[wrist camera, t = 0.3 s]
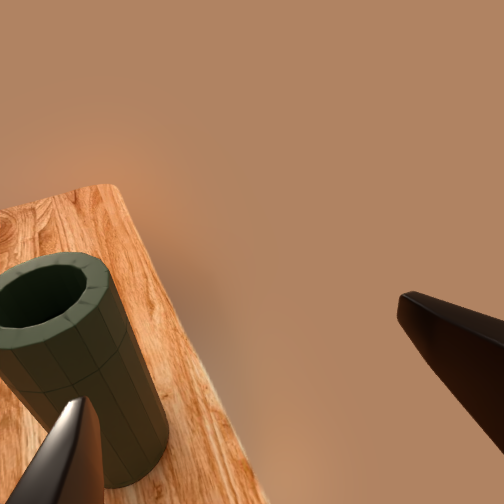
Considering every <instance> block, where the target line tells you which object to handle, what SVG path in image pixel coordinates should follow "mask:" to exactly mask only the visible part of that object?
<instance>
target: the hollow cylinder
mask: <svg viewBox="0 0 504 504" xmlns="http://www.w3.org/2000/svg"><path fill="white" fill-rule="evenodd" d="M0 377H1V379H2V380H3V381H4V382H5V383H6V385H7V386H8V387H9V388H10V389H11V391H12V392H13V393H14V394H15V395H16V396H17V398H18V399H19V400H20V401H21V402H22V403H23V405H24V406H25V407H26V408H27V409H28V410H29V412H30V413H31V414H32V415H33V416H34V417H35V419H36V420H37V421H38V422H39V423H40V424H41V426H42V427H43V428H44V429H45V430H46V431H47V433H49V431H50V430H51V428H52V426H53V425H54V423H55V421H56V420H57V418H58V417H59V415H60V413H61V412H62V410H63V408H64V407H65V405H66V404H67V402H68V401H70V400H72V399H75V398H78V397H81V396H87V397H88V398H89V400H90V402H91V404H92V406H93V408H94V410H95V412H96V414H97V416H98V419H99V424H100V436H101V449H102V462H103V475H104V488H120V487H124V486H128V485H130V484H132V483H134V482H136V481H138V480H140V479H141V478H143V477H144V476H145V475H146V474H148V473H149V472H150V471H151V470H152V469H153V468H154V466H155V465H156V464H157V463H158V461H159V460H160V458H161V456H162V454H163V452H164V450H165V448H166V445H167V441H168V434H169V427H168V421H167V418H166V414H165V411H164V409H163V406H162V404H161V401H160V398H159V396H158V393H157V391H156V388H155V386H154V383H153V381H152V378H151V376H150V373H149V371H148V368H147V365H146V363H145V360H144V358H143V355H142V353H141V350H140V348H139V345H138V343H137V340H136V337H135V335H134V332H133V330H132V327H131V325H130V322H129V320H128V317H127V315H126V312H125V309H124V307H123V304H122V302H121V299H120V297H119V294H118V292H117V289H116V287H115V284H114V281H113V279H112V276H111V274H110V271H109V270H108V268H107V267H106V266H105V264H104V263H103V262H102V261H101V259H98V258H96V257H93V256H90V255H88V254H85V253H82V252H60V253H55V254H50V255H45V256H40V257H38V258H34V259H31V260H29V261H26V262H24V263H21V264H19V265H16V266H14V267H13V268H10V269H8V270H7V271H5V272H4V273H2V274H1V275H0Z"/></svg>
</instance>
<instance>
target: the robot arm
mask: <svg viewBox="0 0 504 504" xmlns="http://www.w3.org/2000/svg"><path fill="white" fill-rule="evenodd" d="M397 319H398V322H399V324H400V325H401V327H402V328H403V329H404V331H405V332H406V334H407V335H408V337H409V338H410V340H411V341H412V343H413V344H414V345H415V347H416V348H417V350H418V351H419V353H420V354H421V356H422V357H423V358H424V360H425V361H426V362H427V364H428V365H429V366H430V368H431V369H432V370H433V371H434V372H435V374H436V375H437V376H438V377H439V378H440V380H441V381H442V382H443V383H444V384H445V386H447V388H448V389H449V390H450V391H451V393H452V394H453V395H454V396H455V397H456V398H457V400H458V401H459V402H460V403H461V404H462V406H463V407H464V408H465V409H466V410H467V412H468V413H469V414H470V415H471V416H472V418H473V419H474V420H475V421H476V422H477V423H478V425H479V426H480V427H481V428H482V429H483V431H484V432H485V433H486V434H487V435H488V436H489V438H490V439H491V440H492V441H493V442H494V443H495V445H496V446H497V447H498V448H499V450H501V452H502V453H503V454H504V321H503V320H500V319H497V318H494V317H491V316H488V315H484V314H482V313H479V312H476V311H473V310H470V309H466V308H464V307H461V306H458V305H455V304H452V303H449V302H446V301H443V300H439V299H436V298H434V297H430V296H428V295H425V294H422V293H419V292H415V291H410V292H407V293H404V294H402V295H401V296H400V297H399V303H398V309H397ZM5 504H104V475H103V462H102V449H101V436H100V424H99V419H98V416H97V414H96V412H95V410H94V408H93V406H92V404H91V402H90V400H89V398H88V397H87V396H81V397H78V398H75V399H72V400H70V401H68V402H67V404H66V405H65V407H64V408H63V410H62V412H61V413H60V415H59V417H58V418H57V420H56V421H55V423H54V425H53V426H52V428H51V430H50V431H49V433H48V434H47V436H46V438H45V439H44V441H43V443H42V444H41V446H40V448H39V449H38V451H37V452H36V454H35V456H34V457H33V459H32V461H31V462H30V464H29V465H28V467H27V469H26V470H25V472H24V474H23V475H22V477H21V479H20V480H19V482H18V483H17V485H16V487H15V488H14V490H13V492H12V493H11V495H10V496H9V498H8V500H7V501H6V503H5Z"/></svg>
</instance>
